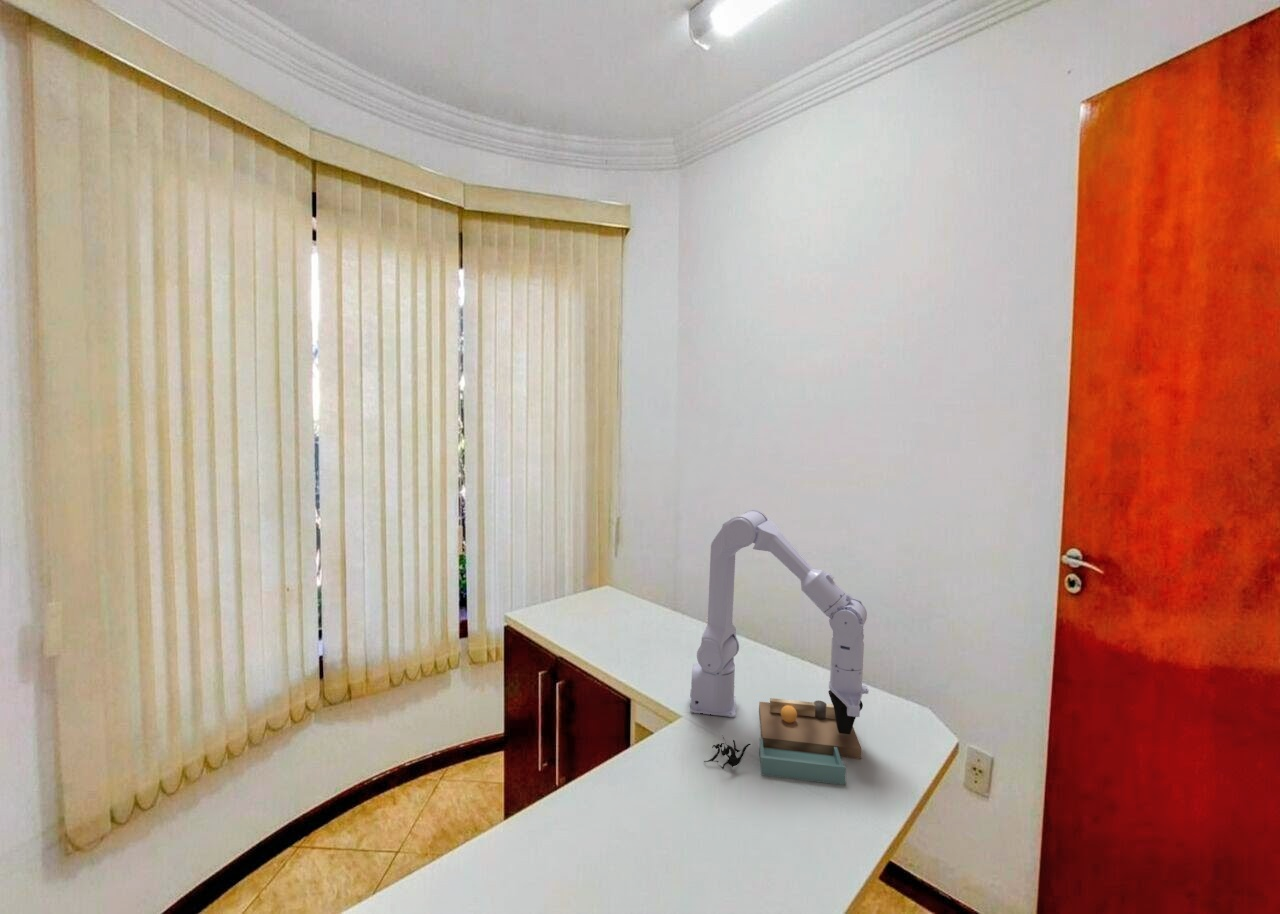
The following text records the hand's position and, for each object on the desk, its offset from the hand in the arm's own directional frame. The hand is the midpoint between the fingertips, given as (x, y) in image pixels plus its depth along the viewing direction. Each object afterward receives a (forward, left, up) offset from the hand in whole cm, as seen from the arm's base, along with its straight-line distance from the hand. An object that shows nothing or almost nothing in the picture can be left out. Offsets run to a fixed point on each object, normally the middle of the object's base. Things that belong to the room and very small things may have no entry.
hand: (843, 731), depth 102 cm
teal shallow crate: (-9, -7, -3) cm, 12 cm away
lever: (-6, +6, -1) cm, 9 cm away
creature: (-22, -9, -3) cm, 24 cm away
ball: (-10, +3, -1) cm, 10 cm away
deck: (-6, +3, -3) cm, 8 cm away
